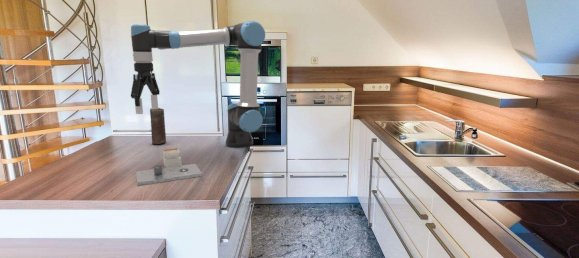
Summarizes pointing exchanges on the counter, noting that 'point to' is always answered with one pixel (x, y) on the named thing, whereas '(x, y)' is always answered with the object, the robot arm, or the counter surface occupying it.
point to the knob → (172, 157)
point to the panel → (167, 174)
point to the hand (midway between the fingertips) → (147, 111)
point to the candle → (157, 126)
